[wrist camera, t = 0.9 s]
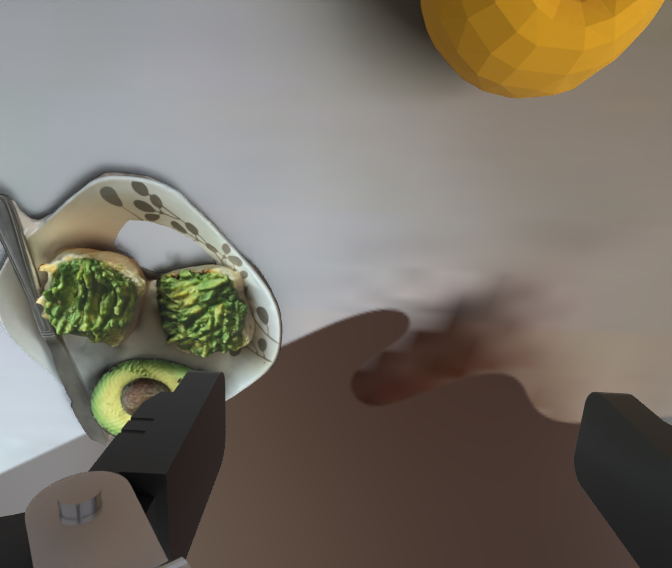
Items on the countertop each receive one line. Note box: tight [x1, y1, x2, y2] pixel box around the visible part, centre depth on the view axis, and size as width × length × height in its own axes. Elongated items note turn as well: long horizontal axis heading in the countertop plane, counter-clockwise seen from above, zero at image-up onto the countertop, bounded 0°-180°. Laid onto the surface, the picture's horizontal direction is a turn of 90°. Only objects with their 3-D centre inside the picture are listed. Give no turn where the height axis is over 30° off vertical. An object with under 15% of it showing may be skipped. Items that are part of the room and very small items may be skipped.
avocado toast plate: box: [0, 172, 282, 445], centre depth 31 cm, size 19×18×5 cm
